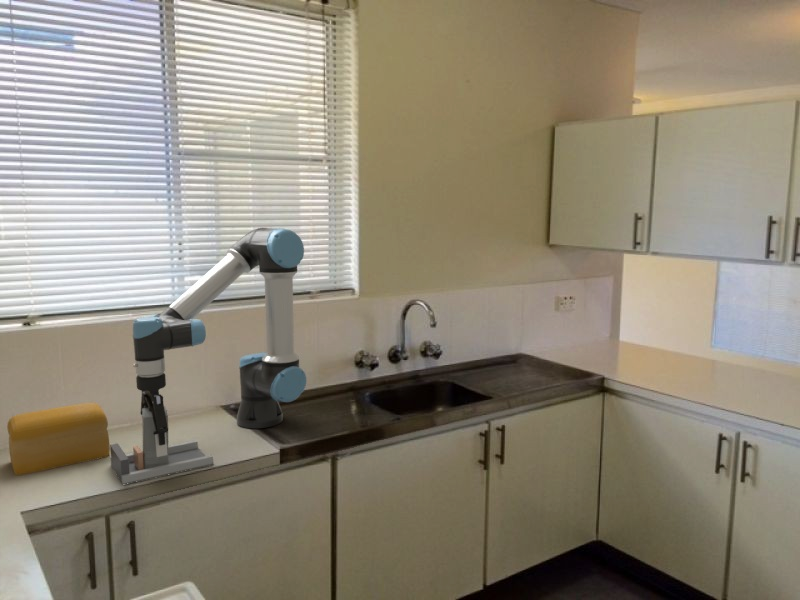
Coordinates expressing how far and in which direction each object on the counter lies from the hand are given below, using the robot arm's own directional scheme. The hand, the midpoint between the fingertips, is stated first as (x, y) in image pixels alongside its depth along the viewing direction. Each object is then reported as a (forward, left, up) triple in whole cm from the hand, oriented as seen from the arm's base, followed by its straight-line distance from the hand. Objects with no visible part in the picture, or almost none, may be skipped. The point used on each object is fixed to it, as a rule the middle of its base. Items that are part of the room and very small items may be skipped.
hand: (155, 448), depth 186 cm
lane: (-1, 0, -5) cm, 6 cm away
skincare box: (0, 0, -5) cm, 5 cm away
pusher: (+5, 0, -4) cm, 6 cm away
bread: (+21, -22, -6) cm, 31 cm away
